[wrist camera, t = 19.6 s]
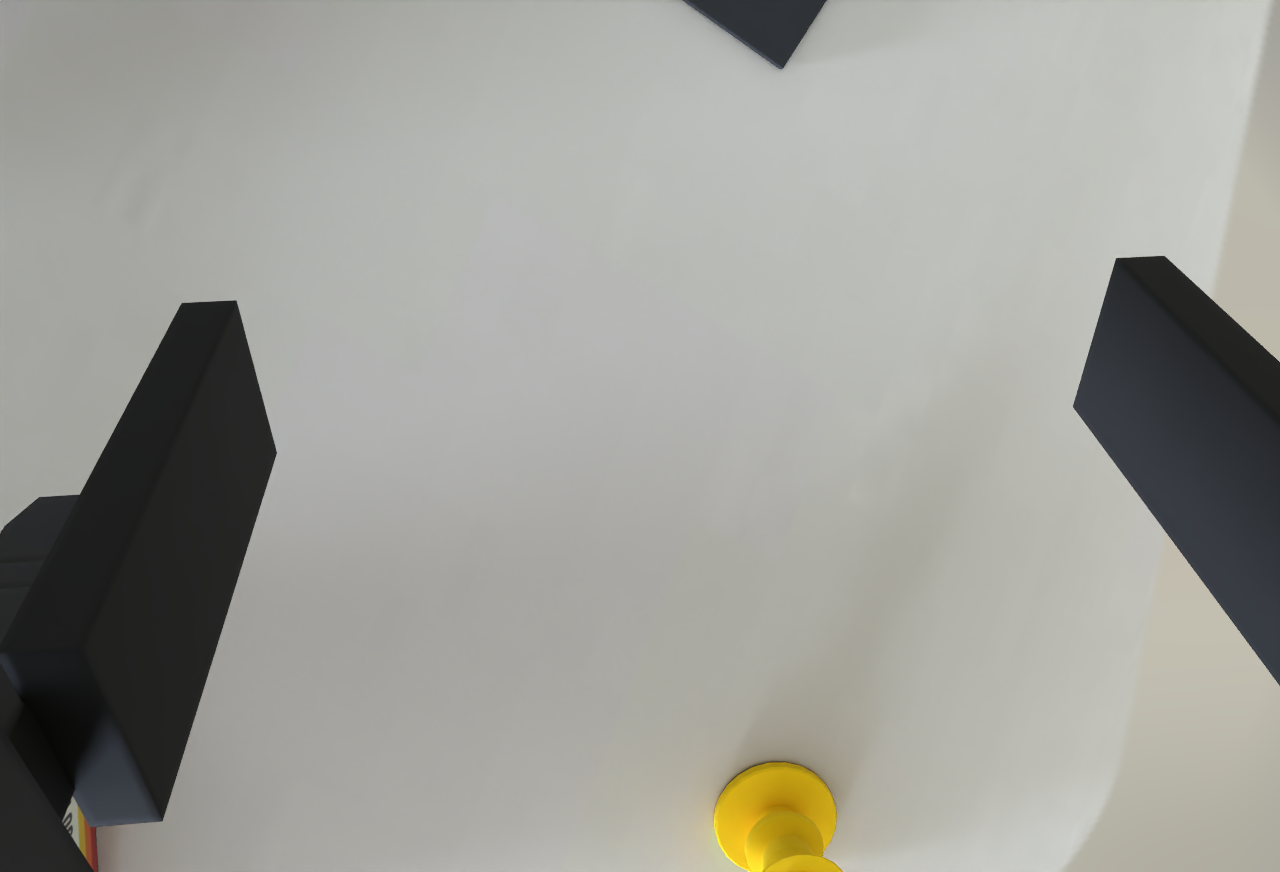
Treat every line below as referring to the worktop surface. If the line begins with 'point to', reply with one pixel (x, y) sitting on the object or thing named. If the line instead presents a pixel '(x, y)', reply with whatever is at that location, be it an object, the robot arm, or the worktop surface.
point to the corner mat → (763, 23)
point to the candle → (776, 820)
